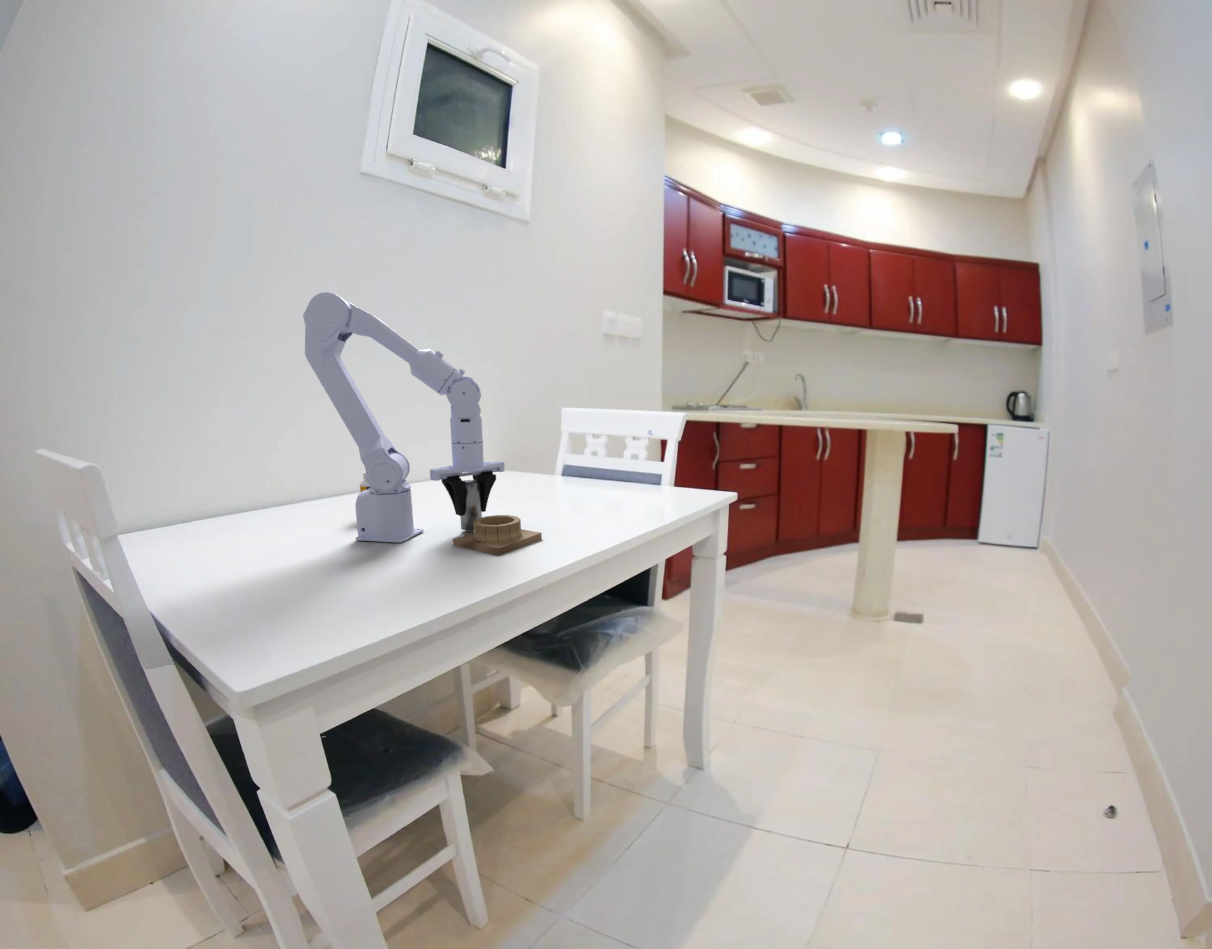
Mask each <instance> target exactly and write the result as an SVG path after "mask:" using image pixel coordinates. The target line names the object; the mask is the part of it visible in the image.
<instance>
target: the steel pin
mask: <svg viewBox="0 0 1212 949" xmlns="http://www.w3.org/2000/svg"><path fill="white" fill-rule="evenodd" d="M463 481H465V482H466V483H465V489H464V510H465V511H464V516H459V517H460V529H461V530H462V531H469V532H470V531H474V526H473V522H474V521H475V520H476V519H479V518H482V517H483V514H482V513H483V512H482V509H481V489H480V481H479V480H473V479H466V480H463Z"/></svg>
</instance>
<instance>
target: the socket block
mask: <svg viewBox="0 0 1212 949" xmlns="http://www.w3.org/2000/svg"><path fill="white" fill-rule="evenodd" d="M521 524H522V523H521V518H520V517H518V516H515V515H509V514H507V515H506V514H497V515H495V514H494V515H488V516H482V518H479V519H476V520H475V521H474V522H473V526H474V530H473V532H470V533H468V534H464V535H462V536H458V537H455V538H453V539H452V546H454V547H458V548H462V549H463V548H464V549H467V550H473V551H476V552H481V553H486V554H491V555H497V556H501V555H504V554H506V553H509V552H512V551H514V550H517V549H519V548H522V547H525V546H528V545H530V544H533V543H535V542H538V541H540V540H542V538H543V536H542V532H539V531H532V530H528V529H527V530H526V529H522V525H521Z"/></svg>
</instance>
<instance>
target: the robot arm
mask: <svg viewBox="0 0 1212 949" xmlns="http://www.w3.org/2000/svg"><path fill="white" fill-rule="evenodd" d="M302 317H303V321H304V326H305V328H304V331H305V333H304V355H305V356H304V357H305V358H306V360H307V362H308V363H309V365H310V367H311V369H312V371H313V372H314V374H315V375H316V377H317V379H318V380H319V383H320V385H321V386H322V388H323V390H324V391H325V393H326V395H327V396H328V398H329V399H330V401H331V402H332V405H333V407H334V408H335V410H336V412H337V413H338V414H339V417H340V418H341V420H342V422H343V423H344V425H345V427H346V428H347V430H348V432H349V434H350V436H351V437H352V438H353V440H354V442H355V444H356V446H357V447H358V452H359V458H360V461H361V462H362V464H363V466H364V471H366V480H367V482H368V484H369V485H370V486H371V487H370V488H369V490H364V491H362V492H360V493H359V494H358V495H357V497H356V501H355V515H356V516H355V518H356V526H357V528H356V529H357V537H355V541H365V542H380V543H402V542H405V541H407V540H409V539H411V538H413V537H415V536H417V535H420V534H422V533H423V532H424V529H423V528H414V527H415V526H414V525H415V524H414V516H413V515H414V514H413V513H414V512H413V502H412V500H413V499H412V489H411V485H410V484H409V483H408V482H407V480H406V479H407V477H408V475H409V474H410V470H411V467H410V462H409V460H408V458H407V457H406V456H405V455H404V454H403V453H401V452H399V450H398V449H397V448H396V447H395V446H394V444H393V442H392V441H390V439H389V438H388V437H387V436H386V435H385V433H384V431H383V429H382V428H381V426H380V424H379V423H378V421H377V419H376V417H375V416H374V414H373V412H372V411H371V409H370V407H369V405H368V404H367V401H366V400H365V399H364V397H363V395H362V393H361V391H360V389H359V387H358V386H357V384H356V383H355V380H354V379H353V377H352V376H351V374H350V372H349V370H348V368H347V367H346V365H345V363H344V361H343V359H342V358H341V355H342V352H343V351H344V347H345V345H346V342H347V341H348V339H350V337H351V336H352V335H353V334H355V335H357V336H362V337H366V338H371V339H372V340H374V341H376V342H377V343H378V344H380V345H381V346H383V347H384V348H386V349H387V350H389V351H390V352H392V353H393V354H394V355H396V356H398V357H399V358H400V359H402V360H403V361H405V362H406V363H407V364H409V368H410V373H411V375H412V376H414V377H415V378H416V379H418V380H419V381H420V382H422V383H424V384H425V386H427V387H429V388H430V389H432V390H433V391H434V392H435V393H437V394H439V395H440V396H443V395H444V396H446V398H447V401H448V402H449V404H450V418H449V424H450V426H449V427H450V439H451V443H450V444H451V460H452V464H451V465H446V466H442V467H437V468H430V469H429V479H430V480H431V481H434V482H437V481H440V480H441V483H442V485H443V486H444V488H445V489H446V491H447V493H448V495H449V497H450V499H451V502H452V505H453V508H454V513H455V515H457V516H459V517H460V516H464V511H465V510H464V489H465V483H466V482H465V481H464V480H462V478H461V477H468V476H469V477H470V476H472V480H479V481H480V489H481V509H482V513H485V512H486V511H487V505H488V501H489V497H490V494H491V490H492V489H493V486H494V484H495V482H496V480H497V475H496V474H494V473H497V472H498V473H502V472H505V461H502V460H501V461H500V460H495V461H484V460H485V459H484V448H483V447H484V445H483V444H484V443H483V442H484V440H483V422H482V420H483V419H482V417H481V413H482V412H481V411H482V410H481V406H480V404H479V402H480V400H481V398H482V393H481V388H480V386H479V384H478V383H477V382H476V381H475V380H474V379H473V378H472V377H470V376H464V375H465V374H466V371H465V370H464V369H462V368H460V369H458V368H457V367H455V366H454V365H453V364H452V363H450V362H449V361H447V359H444V358H443V357H444V354H443V353H442V351H441V352H440V351H439V350H436V351H434V350H433V349H431V348H427V349H426V348H425V349H419V348H417V347H416V346H414V344H412V343H411V342H410V341H408V339H405V338H404V337H403V336H402V335H400V333H398V332H397V331H395V330H394V329H393V328H392V327H390V326H389V325H387V324H386V323H385V322H384V321H382V320H381V319H380V318H378V317H377V316H375V315H373V314H372V313H370V312H367V310H365V309H362V308H361V307H358V306H357V305H354V304H353V303H352V302H350V301H348V300H346V299H343V297H341V296H339V295H338V294H336V293H333V292H329V291H327V292H326V291H325V292H324V291H323V292H319V293H317V294H315V295H314V296H313V297H312V298H311V299H310V300H309V303H308V305H307V306H306V309H305V311H304V313H303V314H302Z"/></svg>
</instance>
